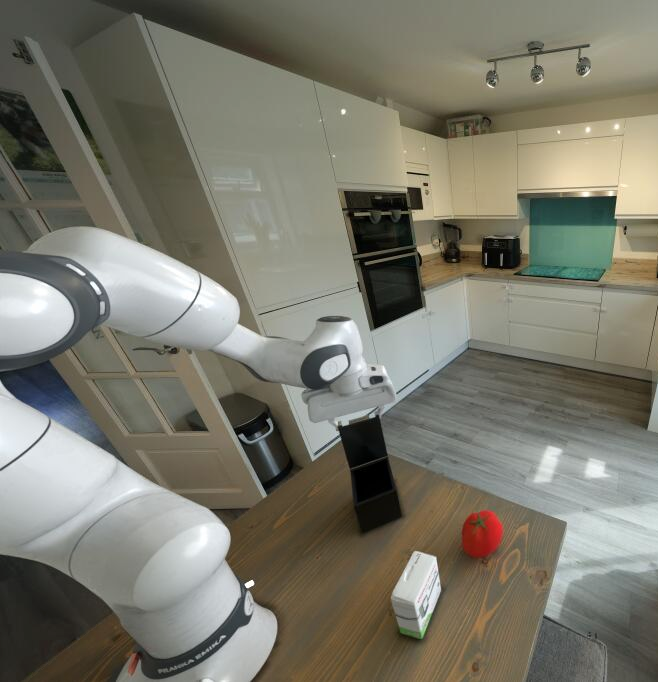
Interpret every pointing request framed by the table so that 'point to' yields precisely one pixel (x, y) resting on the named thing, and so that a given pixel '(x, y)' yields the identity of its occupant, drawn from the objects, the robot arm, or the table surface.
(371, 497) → the trash bin
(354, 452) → the bin lid
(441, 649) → the table surface
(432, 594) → the ink box
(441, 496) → the table surface
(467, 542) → the tomato
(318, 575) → the table surface
